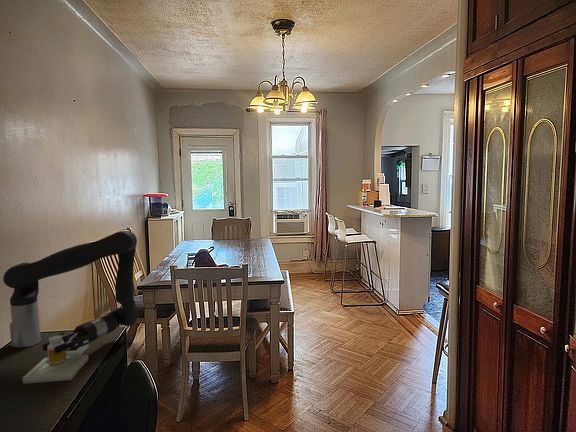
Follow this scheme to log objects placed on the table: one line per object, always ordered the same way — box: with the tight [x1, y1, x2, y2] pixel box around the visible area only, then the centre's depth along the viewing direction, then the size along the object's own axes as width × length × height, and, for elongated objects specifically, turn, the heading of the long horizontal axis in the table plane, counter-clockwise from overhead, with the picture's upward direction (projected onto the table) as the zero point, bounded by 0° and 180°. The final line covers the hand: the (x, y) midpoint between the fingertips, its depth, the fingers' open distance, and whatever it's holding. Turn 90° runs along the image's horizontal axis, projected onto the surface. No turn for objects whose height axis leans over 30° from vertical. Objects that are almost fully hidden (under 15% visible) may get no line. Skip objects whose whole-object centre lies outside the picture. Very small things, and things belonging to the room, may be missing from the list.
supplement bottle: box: [46, 334, 67, 367], centre depth 137 cm, size 5×5×10 cm
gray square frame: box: [66, 343, 90, 356], centre depth 153 cm, size 10×10×2 cm
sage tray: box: [22, 354, 89, 384], centre depth 137 cm, size 15×15×2 cm
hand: (49, 349), depth 134 cm, fingers closed on supplement bottle, 5 cm apart
